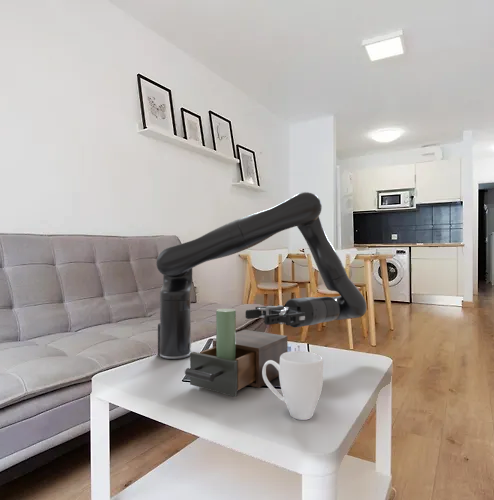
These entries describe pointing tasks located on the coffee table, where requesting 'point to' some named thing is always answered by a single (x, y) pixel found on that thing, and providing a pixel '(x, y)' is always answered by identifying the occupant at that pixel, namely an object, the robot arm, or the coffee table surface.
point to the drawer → (222, 371)
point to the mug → (298, 382)
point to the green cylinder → (226, 333)
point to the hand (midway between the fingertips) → (255, 317)
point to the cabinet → (262, 351)
